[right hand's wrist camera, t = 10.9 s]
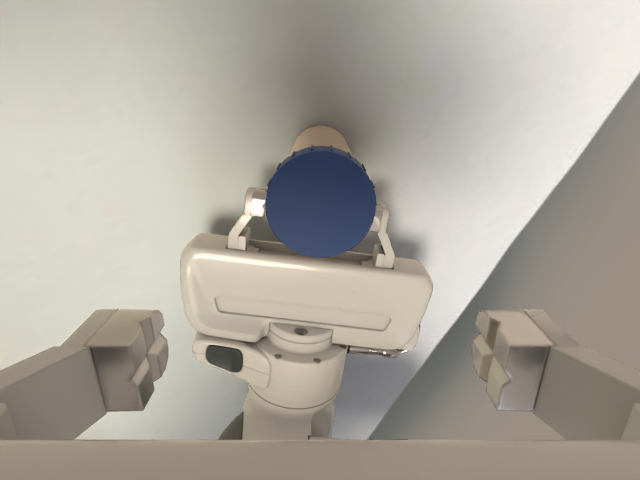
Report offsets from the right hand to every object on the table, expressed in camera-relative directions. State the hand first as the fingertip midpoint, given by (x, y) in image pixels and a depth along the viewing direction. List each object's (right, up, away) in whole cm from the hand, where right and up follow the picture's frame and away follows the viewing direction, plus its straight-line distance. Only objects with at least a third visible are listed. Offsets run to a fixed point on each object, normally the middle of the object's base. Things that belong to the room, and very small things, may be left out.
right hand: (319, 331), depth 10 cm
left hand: (0, +6, +20) cm, 21 cm away
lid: (0, +4, +11) cm, 11 cm away
